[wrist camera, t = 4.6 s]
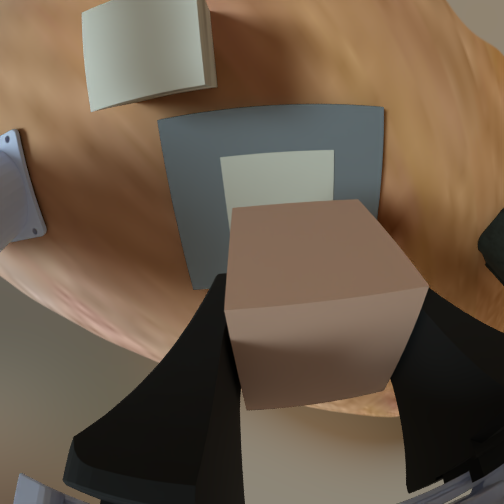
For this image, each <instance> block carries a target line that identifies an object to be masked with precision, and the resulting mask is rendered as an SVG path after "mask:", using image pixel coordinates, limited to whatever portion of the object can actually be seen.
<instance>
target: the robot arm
mask: <svg viewBox="0 0 504 504" xmlns="http://www.w3.org/2000/svg"><path fill="white" fill-rule="evenodd" d="M9 138H10V141H9ZM36 230H37V231H36ZM46 231H47V229H46V226H45V223H44V220H43V217H42V215H41V212H40V209H39V206H38V203H37V200H36V197H35V194H34V190H33V187H32V184H31V180H30V177H29V173H28V170H27V166H26V162H25V158H24V154H23V149H22V145H21V140H20V135H19V132H18V130H17V129H12V130H10V131H8V132H6V133H5V134H3V135H1V136H0V252H1V251H2V250H3V249H4V248H5V247H6V246H7V245H8V244H9V243H10V242H15V241H20V240H25V239H30V238H35V237H41V236H43V235H44V234H45V233H46ZM226 279H227V273H222V274H218V275H217V276H216V277H215V279H214V281H213V283H212V285H211V287H210V289H209V291H208V293H207V294H206V296H205V298H204V300H203V302H202V303H201V305H200V307H199V308H198V310H197V312H196V313H195V315H194V317H193V318H192V320H191V321H190V323H189V324H188V326H187V327H186V329H185V330H184V331H183V333H182V334H181V336H180V337H179V339H178V340H177V342H176V343H175V344H174V346H173V347H172V348H171V349H170V351H169V352H168V353H167V354H166V356H165V357H164V358H163V359H162V360H161V362H160V363H159V364H158V365H157V366H156V367H155V368H154V370H153V371H152V372H151V373H150V374H149V375H148V376H147V377H146V378H145V379H144V380H143V381H142V382H141V383H140V384H139V385H138V386H137V387H136V388H135V389H134V390H133V391H132V392H131V393H130V394H129V395H128V396H126V397H125V398H124V399H123V400H122V401H121V402H120V403H119V404H117V405H116V406H115V407H114V408H113V409H112V410H111V411H109V412H108V413H107V414H106V415H104V416H103V417H102V418H100V419H99V420H97V421H96V422H95V423H93V424H92V425H90V426H89V427H88V428H86V429H85V430H83V431H82V432H80V433H79V434H77V435H76V436H74V437H73V440H72V443H71V446H70V450H69V454H68V458H67V462H66V467H65V471H64V476H63V481H64V483H65V484H66V485H67V486H69V487H72V488H74V489H76V490H78V491H80V492H83V493H85V494H88V495H90V496H93V497H96V498H98V499H101V502H100V504H245V499H244V486H243V471H242V454H241V432H240V394H241V384H240V380H239V376H238V371H237V367H236V363H235V358H234V354H233V349H232V345H231V340H230V335H229V331H228V326H227V321H226V316H225V312H224V306H225V292H226ZM390 379H391V382H392V385H393V389H394V393H395V397H396V401H397V405H398V409H399V415H400V419H401V425H402V431H403V439H404V446H405V459H406V486H407V490H408V493H412V492H415V491H417V490H420V489H422V488H424V487H427V486H429V485H431V484H433V483H436V482H438V481H440V480H442V479H443V480H444V484H443V485H441V486H439V487H437V488H435V489H432V490H430V491H428V492H426V493H423V494H421V495H418V496H416V497H414V498H411V499H408V500H406V501H403V502H400V503H398V504H444V503H446V502H448V501H450V500H452V499H453V498H455V497H457V496H459V495H461V494H463V493H464V492H466V491H468V490H469V489H471V488H472V491H471V493H470V494H469V495H467V496H464V497H462V498H460V499H458V500H455V501H454V502H451V503H449V504H504V333H502V332H500V331H498V330H496V329H494V328H492V327H490V326H488V325H486V324H484V323H482V322H481V321H479V320H477V319H475V318H474V317H472V316H470V315H469V314H467V313H465V312H464V311H462V310H460V309H459V308H457V307H456V306H454V305H453V304H451V303H450V302H448V301H447V300H445V299H444V298H442V297H441V296H440V295H438V294H437V293H435V292H434V291H433V290H431V289H430V288H428V291H427V294H426V297H425V299H424V302H423V305H422V308H421V310H420V313H419V316H418V318H417V321H416V323H415V326H414V328H413V330H412V333H411V335H410V337H409V340H408V342H407V344H406V347H405V349H404V351H403V353H402V355H401V357H400V360H399V362H398V364H397V366H396V368H395V370H394V372H393V374H392V376H391V378H390ZM13 504H90V503H87V502H84V501H81V500H79V499H76V498H74V497H71V496H69V495H66V494H63V493H62V492H59V491H57V490H55V489H53V488H50V487H48V486H46V485H44V484H42V483H40V482H38V481H36V480H34V479H32V478H30V477H28V476H27V475H25V474H23V473H20V474H19V479H18V483H17V488H16V493H15V498H14V503H13Z"/></svg>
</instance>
